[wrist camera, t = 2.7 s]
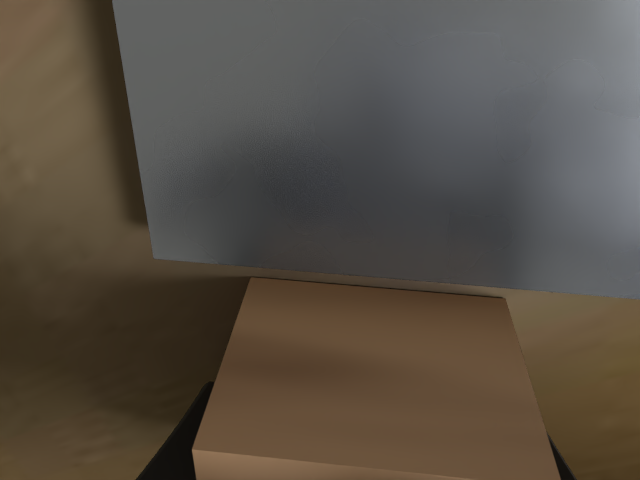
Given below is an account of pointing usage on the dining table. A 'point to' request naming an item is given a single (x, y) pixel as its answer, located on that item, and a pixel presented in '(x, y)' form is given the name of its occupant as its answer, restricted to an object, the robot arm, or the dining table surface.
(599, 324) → the dining table surface
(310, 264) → the grey square baseplate
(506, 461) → the block
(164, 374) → the dining table surface
